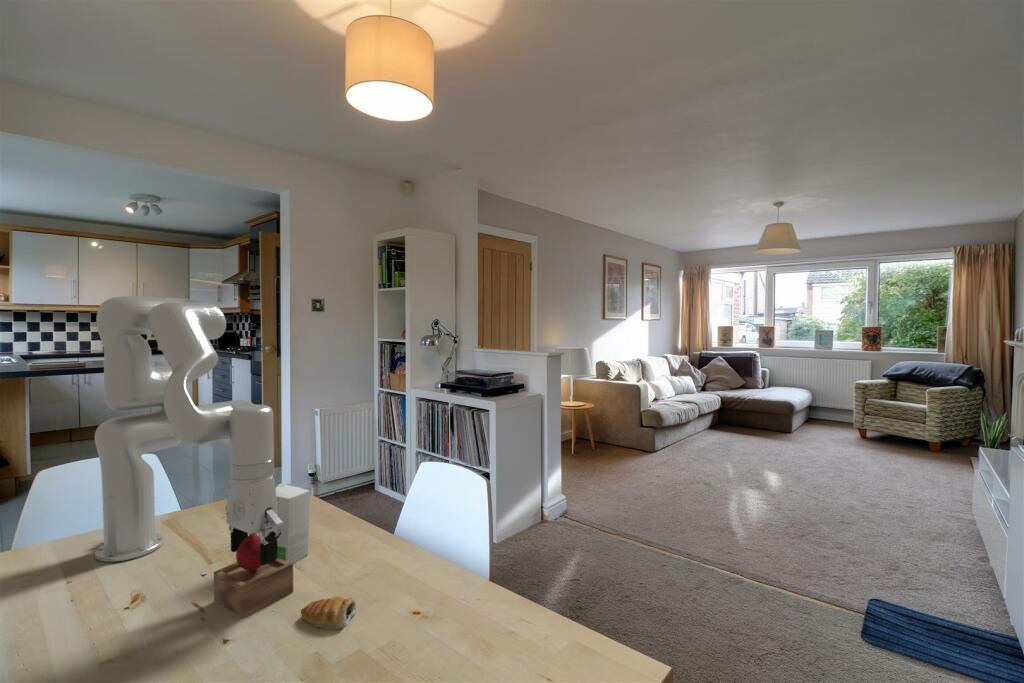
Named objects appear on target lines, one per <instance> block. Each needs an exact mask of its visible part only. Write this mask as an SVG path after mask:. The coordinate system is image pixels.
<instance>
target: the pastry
mask: <svg viewBox="0 0 1024 683" xmlns="http://www.w3.org/2000/svg"><path fill="white" fill-rule="evenodd" d="M356 612H357V603H356V601H355V599H353V597H343V596H338V595H335V596H333V597H330V598H325V599H324V598H321V599H319V600H314V601H311V602H310V603H309V604H307V605H306V606H304V607H303V608H302V609H301V610H300V615H301V618H302V620H303V621H304V622H305V623H308V624H311V625H312V626H314V627H315V628H317V629H318V628H321V629H325V630H326V629H327V630H333V631H336V630H343V629H344V628H346V627H347V626H348V624H349V623H350V621H351V618H352V617H353V616H354V615H355V614H356Z"/></svg>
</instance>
